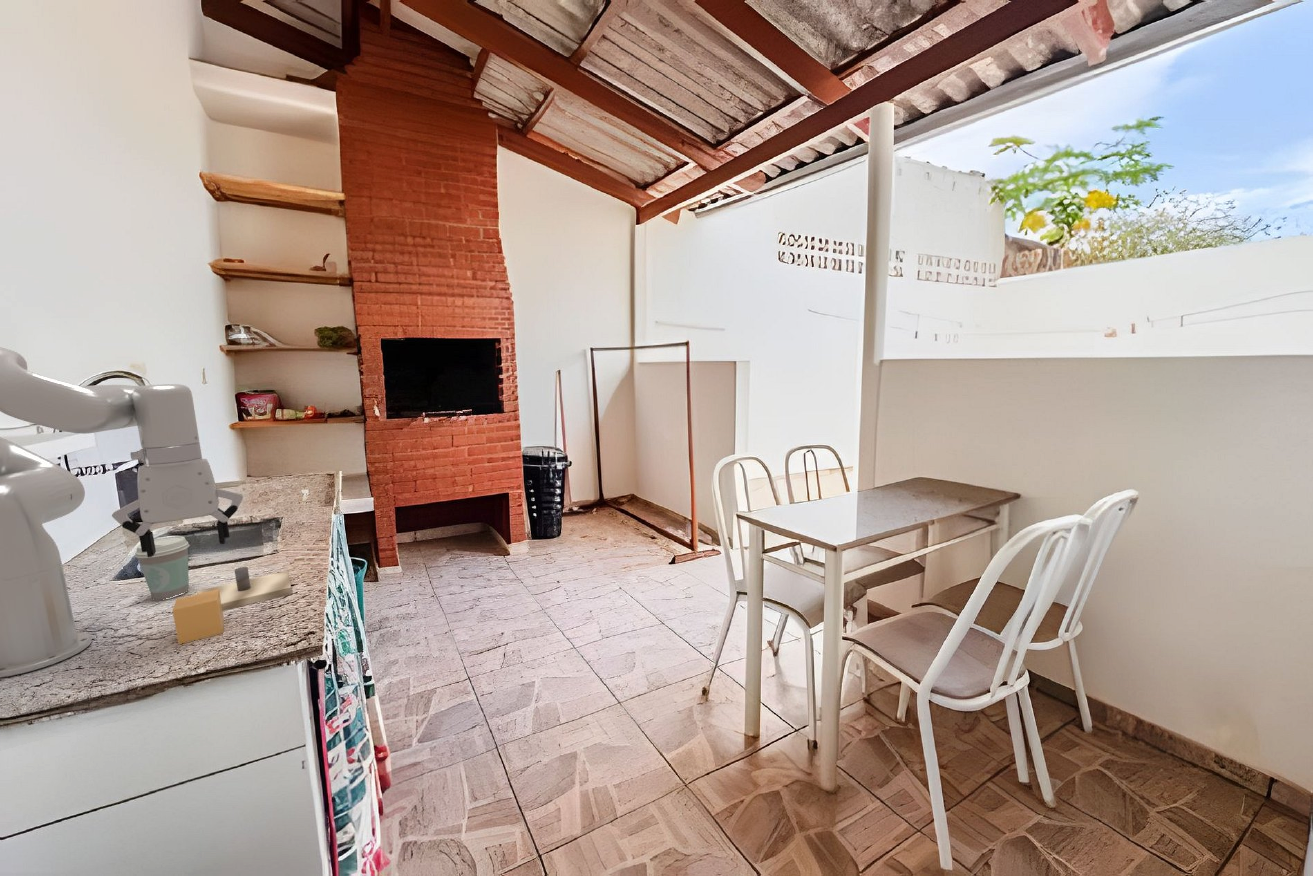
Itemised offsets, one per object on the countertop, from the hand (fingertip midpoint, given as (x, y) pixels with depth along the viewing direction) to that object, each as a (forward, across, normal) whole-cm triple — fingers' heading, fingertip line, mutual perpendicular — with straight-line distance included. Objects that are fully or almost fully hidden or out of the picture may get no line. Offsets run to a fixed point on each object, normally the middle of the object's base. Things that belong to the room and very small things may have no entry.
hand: (188, 548), depth 94 cm
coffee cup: (+16, -7, +27) cm, 32 cm away
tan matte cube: (+16, 0, 0) cm, 16 cm away
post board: (+16, +6, +15) cm, 23 cm away
